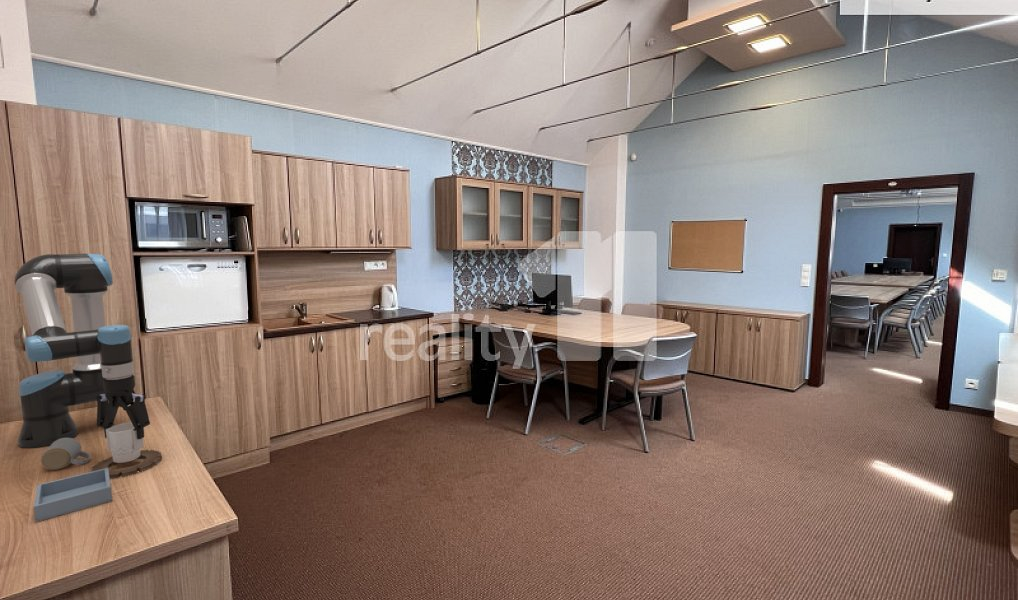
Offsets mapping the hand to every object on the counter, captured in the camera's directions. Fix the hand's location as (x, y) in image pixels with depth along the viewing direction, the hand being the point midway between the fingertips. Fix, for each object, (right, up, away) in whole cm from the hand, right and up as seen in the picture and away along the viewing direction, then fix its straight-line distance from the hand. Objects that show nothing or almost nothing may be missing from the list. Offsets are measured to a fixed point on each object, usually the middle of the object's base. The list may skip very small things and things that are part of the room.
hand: (125, 448), depth 148 cm
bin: (+2, -8, -19) cm, 21 cm away
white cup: (0, -3, 0) cm, 3 cm away
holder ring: (0, -6, 0) cm, 5 cm away
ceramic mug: (-19, -6, +1) cm, 20 cm away
